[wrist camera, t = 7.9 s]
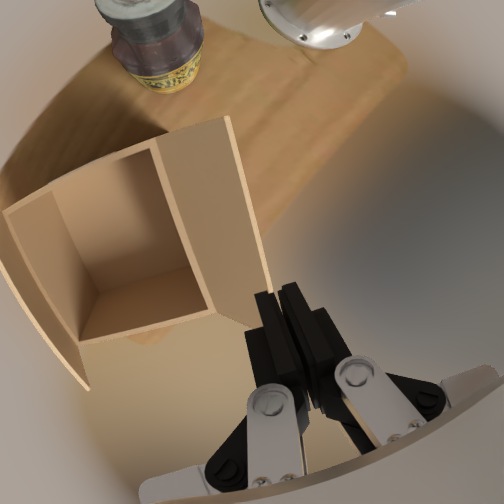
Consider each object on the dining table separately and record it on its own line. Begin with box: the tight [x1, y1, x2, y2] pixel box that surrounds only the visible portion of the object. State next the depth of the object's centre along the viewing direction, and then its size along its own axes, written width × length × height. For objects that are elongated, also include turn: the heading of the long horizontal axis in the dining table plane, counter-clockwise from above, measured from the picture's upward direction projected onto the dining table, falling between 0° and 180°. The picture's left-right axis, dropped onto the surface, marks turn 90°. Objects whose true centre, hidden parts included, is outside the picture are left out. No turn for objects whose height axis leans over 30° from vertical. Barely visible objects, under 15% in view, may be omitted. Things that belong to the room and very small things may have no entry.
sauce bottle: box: [95, 0, 204, 94], centre depth 15 cm, size 7×6×20 cm
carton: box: [2, 132, 216, 346], centre depth 26 cm, size 16×16×10 cm
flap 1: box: [0, 212, 91, 391], centre depth 19 cm, size 7×16×1 cm
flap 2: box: [155, 116, 273, 329], centre depth 20 cm, size 7×16×1 cm
